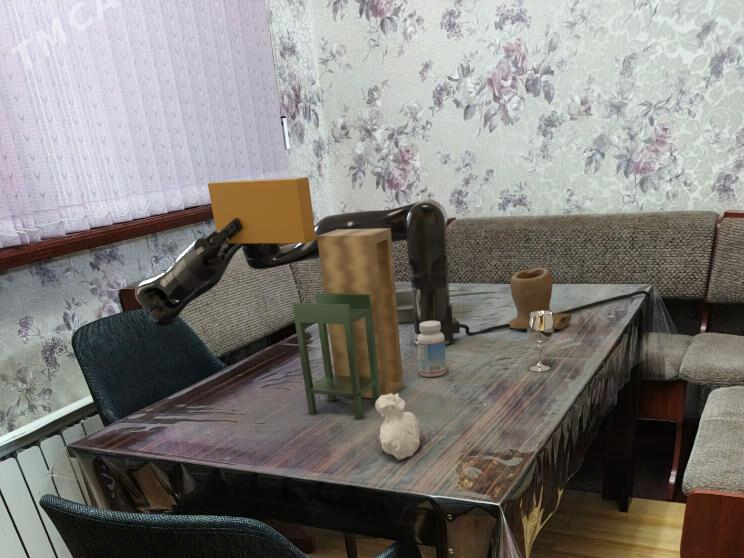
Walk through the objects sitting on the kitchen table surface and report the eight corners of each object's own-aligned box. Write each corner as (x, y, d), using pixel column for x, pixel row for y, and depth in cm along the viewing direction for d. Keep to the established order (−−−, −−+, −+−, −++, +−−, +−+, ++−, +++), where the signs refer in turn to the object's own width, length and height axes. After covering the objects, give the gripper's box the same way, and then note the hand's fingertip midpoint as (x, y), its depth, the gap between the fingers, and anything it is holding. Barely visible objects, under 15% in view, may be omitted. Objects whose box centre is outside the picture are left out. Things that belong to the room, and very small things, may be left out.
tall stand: (337, 395, 152) (316, 236, 136) (355, 383, 158) (337, 229, 142) (386, 399, 147) (371, 235, 131) (403, 386, 153) (390, 228, 137)
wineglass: (552, 372, 154) (554, 316, 148) (525, 372, 155) (526, 317, 149) (553, 364, 159) (554, 309, 153) (527, 364, 160) (527, 310, 154)
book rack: (309, 414, 144) (292, 303, 133) (331, 399, 150) (317, 292, 139) (360, 419, 139) (347, 305, 128) (381, 403, 146) (370, 293, 134)
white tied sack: (411, 448, 130) (372, 400, 128) (441, 426, 126) (401, 376, 124) (388, 476, 121) (345, 425, 118) (420, 454, 116) (376, 400, 114)
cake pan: (463, 306, 213) (463, 290, 210) (421, 327, 195) (420, 310, 193) (395, 302, 225) (393, 287, 223) (349, 321, 207) (348, 305, 205)
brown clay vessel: (502, 334, 183) (502, 273, 175) (516, 322, 192) (516, 264, 185) (560, 336, 177) (563, 274, 169) (572, 324, 186) (574, 264, 178)
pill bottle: (449, 369, 161) (447, 319, 156) (442, 378, 156) (439, 327, 151) (424, 368, 163) (421, 319, 158) (416, 377, 158) (412, 326, 153)
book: (218, 243, 144) (207, 183, 138) (230, 240, 147) (220, 181, 141) (305, 243, 135) (296, 179, 130) (316, 239, 138) (308, 176, 133)
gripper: (164, 255, 145) (213, 208, 134) (209, 243, 156) (257, 198, 145) (186, 288, 147) (235, 244, 136) (228, 274, 157) (277, 232, 147)
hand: (246, 221), depth 141 cm, fingers closed on book, 4 cm apart
